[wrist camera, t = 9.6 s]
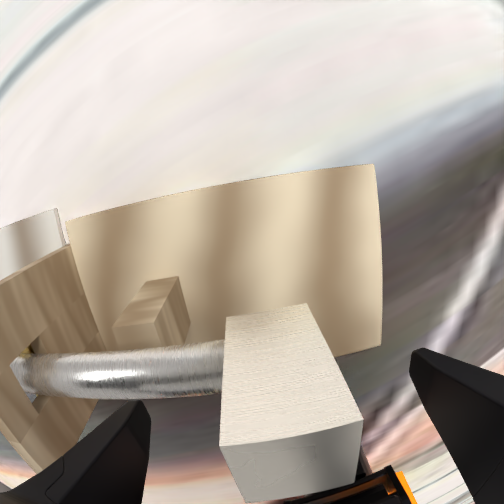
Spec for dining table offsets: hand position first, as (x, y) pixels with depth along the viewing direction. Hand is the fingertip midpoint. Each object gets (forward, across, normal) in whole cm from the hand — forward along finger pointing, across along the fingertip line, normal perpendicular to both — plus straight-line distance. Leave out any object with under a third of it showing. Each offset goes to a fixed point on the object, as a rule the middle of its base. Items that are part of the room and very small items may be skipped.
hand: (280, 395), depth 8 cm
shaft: (+3, +9, 0) cm, 9 cm away
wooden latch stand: (+10, +7, 0) cm, 12 cm away
